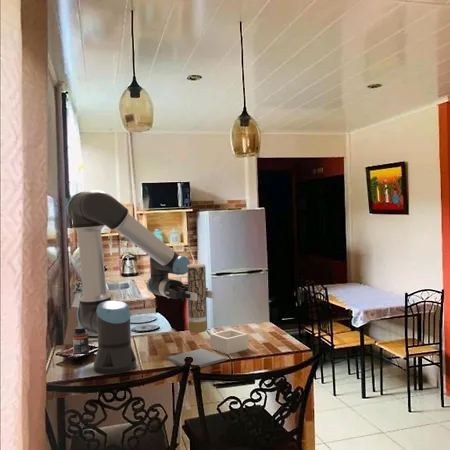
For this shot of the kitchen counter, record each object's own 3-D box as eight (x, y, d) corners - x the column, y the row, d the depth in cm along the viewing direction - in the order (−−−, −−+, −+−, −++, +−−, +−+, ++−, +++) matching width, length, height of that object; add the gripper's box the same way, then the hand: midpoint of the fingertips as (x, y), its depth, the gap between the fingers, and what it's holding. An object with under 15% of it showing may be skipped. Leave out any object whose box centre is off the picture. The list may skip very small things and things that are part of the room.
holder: (227, 354, 183) (226, 339, 183) (210, 348, 192) (210, 333, 191) (248, 348, 190) (247, 334, 190) (231, 343, 198) (231, 329, 198)
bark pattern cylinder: (204, 333, 174) (202, 266, 173) (186, 333, 175) (185, 266, 174) (208, 329, 180) (207, 264, 180) (191, 328, 182) (190, 264, 181)
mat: (190, 370, 166) (190, 367, 166) (167, 359, 179) (167, 356, 179) (226, 360, 176) (226, 357, 176) (202, 350, 189) (202, 348, 188)
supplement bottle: (82, 352, 191) (81, 324, 191) (92, 354, 188) (91, 326, 187) (70, 356, 186) (69, 328, 185) (80, 358, 183) (79, 329, 182)
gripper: (192, 295, 198) (225, 302, 179) (150, 300, 185) (182, 309, 167) (191, 277, 197) (225, 283, 179) (150, 282, 185) (181, 288, 167)
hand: (204, 296), depth 173 cm, fingers closed on bark pattern cylinder, 7 cm apart
